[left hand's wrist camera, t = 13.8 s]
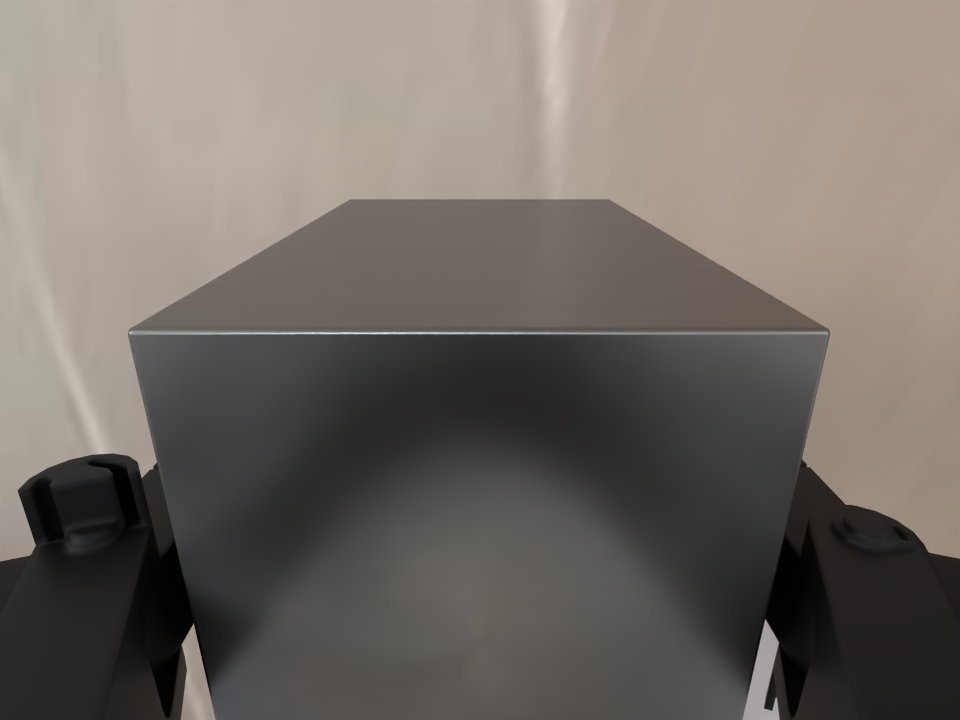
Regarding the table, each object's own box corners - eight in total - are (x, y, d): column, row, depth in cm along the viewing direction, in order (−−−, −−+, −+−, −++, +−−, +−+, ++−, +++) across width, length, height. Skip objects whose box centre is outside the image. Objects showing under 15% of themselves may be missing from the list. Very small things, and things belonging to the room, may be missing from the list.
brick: (589, 465, 18) (714, 852, 8) (369, 465, 18) (244, 852, 8) (610, 199, 15) (834, 329, 6) (348, 199, 15) (123, 328, 6)
